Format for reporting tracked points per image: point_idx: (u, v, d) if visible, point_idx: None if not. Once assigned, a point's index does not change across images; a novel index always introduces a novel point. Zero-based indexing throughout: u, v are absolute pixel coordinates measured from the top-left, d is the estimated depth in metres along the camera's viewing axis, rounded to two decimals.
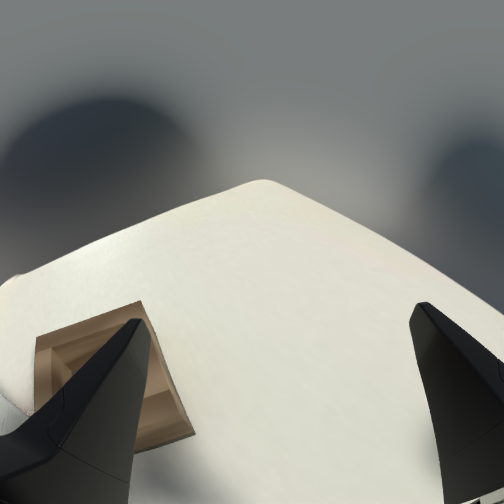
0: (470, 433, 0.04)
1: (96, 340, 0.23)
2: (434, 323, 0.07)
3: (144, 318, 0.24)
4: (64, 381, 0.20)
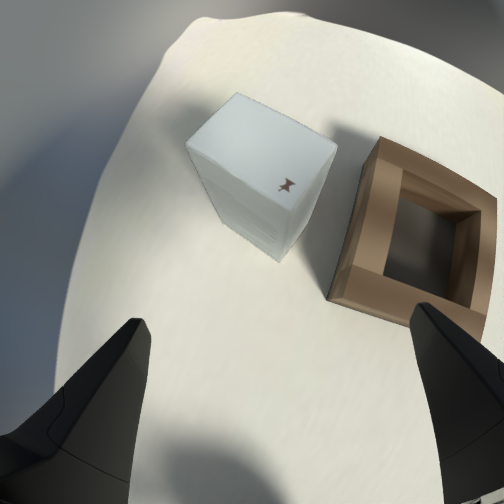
0: (470, 434, 0.04)
1: (446, 198, 0.19)
2: (434, 323, 0.07)
3: (496, 224, 0.17)
4: None
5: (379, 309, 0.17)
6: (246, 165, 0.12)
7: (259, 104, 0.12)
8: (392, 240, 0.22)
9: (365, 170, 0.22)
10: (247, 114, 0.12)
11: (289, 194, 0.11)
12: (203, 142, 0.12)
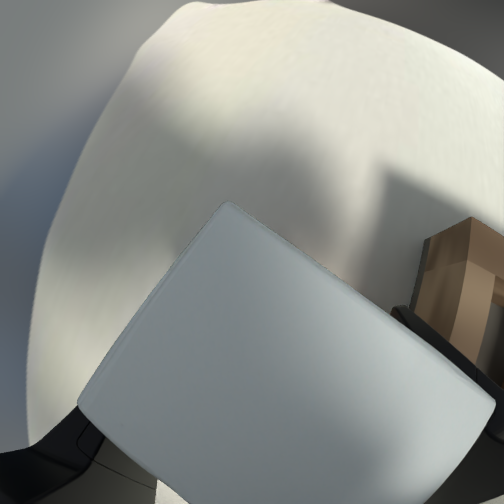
0: None
1: None
2: (409, 328, 0.07)
3: None
4: None
5: None
6: None
7: (314, 275, 0.03)
8: None
9: (433, 258, 0.13)
10: (267, 331, 0.03)
11: None
12: (123, 426, 0.03)
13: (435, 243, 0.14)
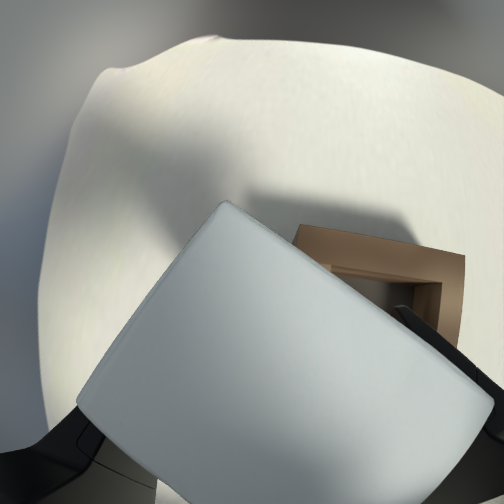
0: None
1: (395, 277, 0.17)
2: (409, 328, 0.07)
3: (462, 291, 0.16)
4: None
5: None
6: None
7: (312, 274, 0.03)
8: None
9: None
10: (265, 329, 0.03)
11: None
12: (122, 424, 0.03)
13: (293, 244, 0.21)
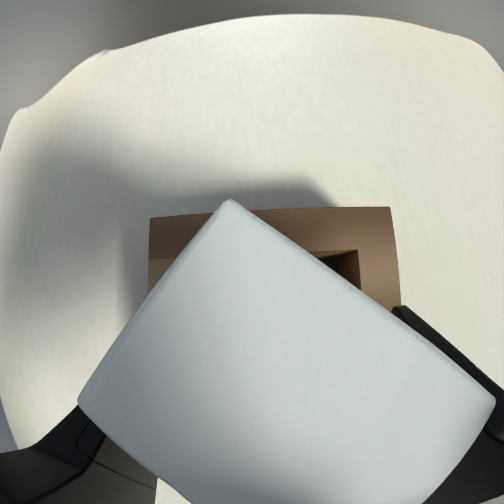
0: None
1: None
2: None
3: (395, 255, 0.13)
4: None
5: None
6: None
7: (315, 273, 0.03)
8: None
9: None
10: (268, 328, 0.03)
11: None
12: (124, 424, 0.03)
13: None
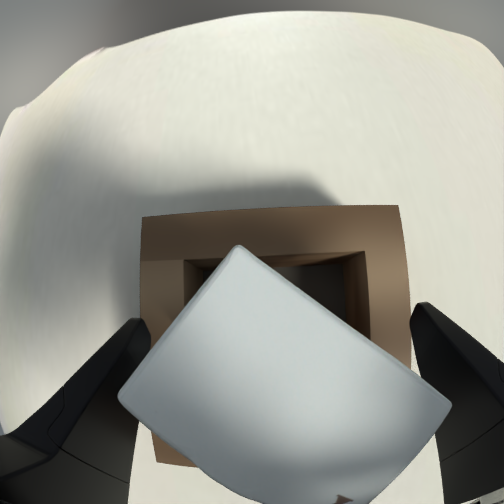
0: (470, 433, 0.04)
1: (290, 258, 0.14)
2: (434, 323, 0.07)
3: (404, 256, 0.12)
4: None
5: None
6: (258, 476, 0.04)
7: (301, 303, 0.05)
8: None
9: None
10: (266, 342, 0.05)
11: None
12: (157, 412, 0.04)
13: None
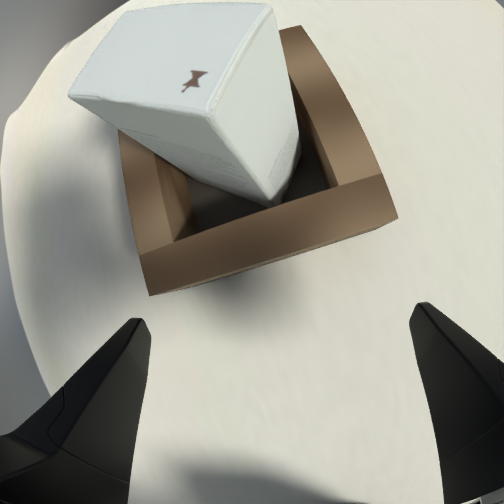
0: (470, 434, 0.04)
1: None
2: (434, 323, 0.07)
3: (316, 51, 0.13)
4: None
5: (193, 281, 0.14)
6: (133, 80, 0.06)
7: (151, 8, 0.06)
8: None
9: None
10: (135, 24, 0.06)
11: (200, 90, 0.05)
12: (84, 81, 0.06)
13: None
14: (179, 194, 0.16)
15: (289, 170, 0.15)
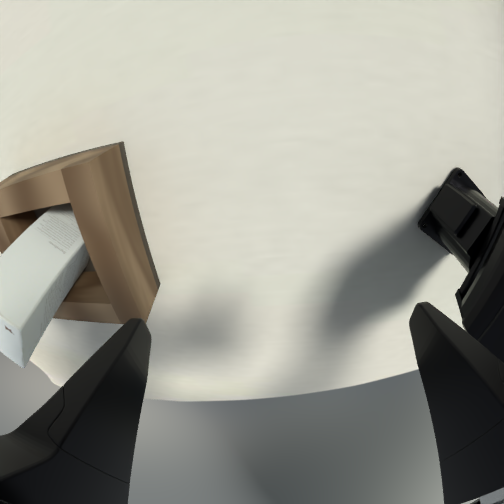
0: (470, 433, 0.04)
1: None
2: (434, 323, 0.07)
3: None
4: None
5: (133, 299, 0.19)
6: (13, 346, 0.11)
7: None
8: None
9: None
10: None
11: (12, 329, 0.10)
12: (17, 361, 0.12)
13: None
14: (91, 284, 0.21)
15: (72, 216, 0.18)
